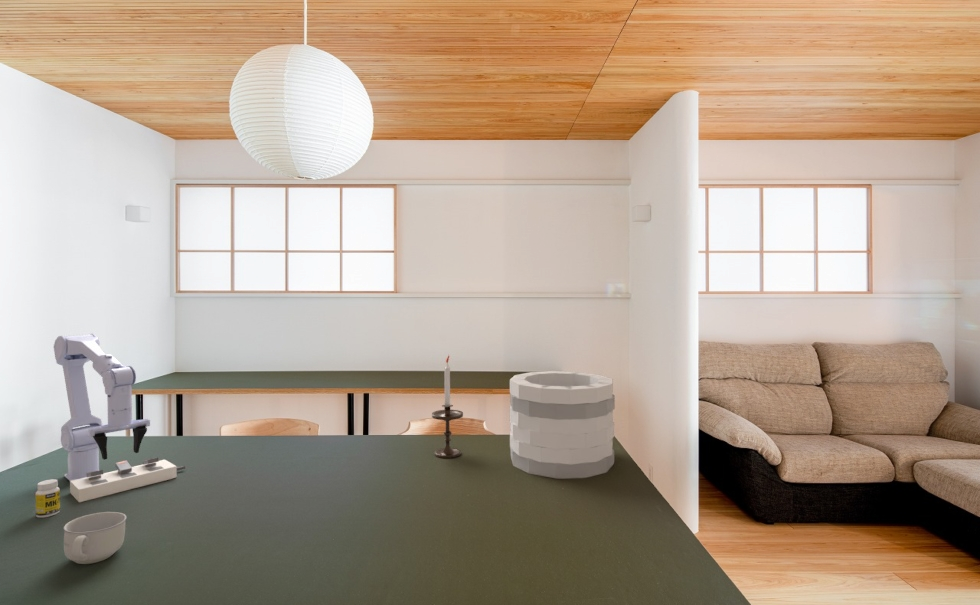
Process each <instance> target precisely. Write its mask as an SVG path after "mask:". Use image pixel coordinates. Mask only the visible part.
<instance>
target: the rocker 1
mask: <svg viewBox="0 0 980 605" xmlns="http://www.w3.org/2000/svg"><path fill="white" fill-rule="evenodd" d="M103 473H104V470H103V469H101V470H100V469H99V471H93V472H89V473H86V474H87V477H93V476H97V475H102V474H103Z"/></svg>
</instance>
